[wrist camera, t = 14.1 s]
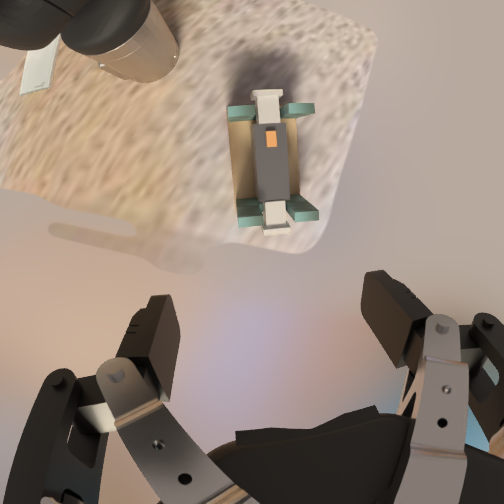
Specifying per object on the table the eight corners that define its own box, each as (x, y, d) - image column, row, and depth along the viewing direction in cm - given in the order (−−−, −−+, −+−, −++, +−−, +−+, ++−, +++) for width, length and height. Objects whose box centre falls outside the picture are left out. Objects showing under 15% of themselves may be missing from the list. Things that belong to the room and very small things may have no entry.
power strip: (257, 221, 42) (262, 235, 36) (247, 97, 34) (251, 90, 28) (283, 219, 42) (292, 232, 36) (275, 96, 34) (284, 89, 29)
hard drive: (48, 87, 30) (61, 26, 25) (18, 95, 29) (30, 37, 24) (53, 88, 31) (65, 28, 26) (23, 95, 30) (34, 39, 25)
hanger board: (236, 211, 43) (238, 234, 33) (226, 109, 37) (225, 99, 27) (298, 205, 44) (319, 226, 33) (293, 105, 37) (314, 96, 27)
